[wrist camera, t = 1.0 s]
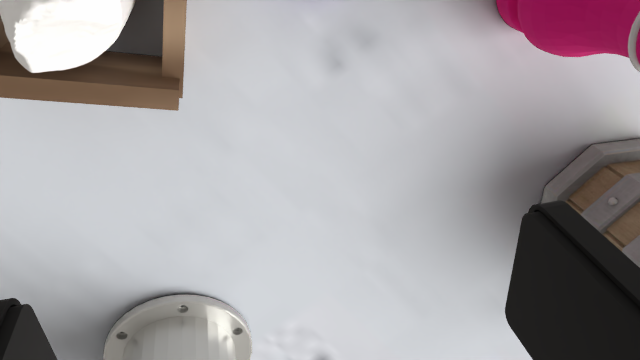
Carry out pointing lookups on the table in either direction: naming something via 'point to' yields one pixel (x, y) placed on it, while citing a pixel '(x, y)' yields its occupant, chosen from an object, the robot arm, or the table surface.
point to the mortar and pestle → (605, 192)
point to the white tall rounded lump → (62, 30)
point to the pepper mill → (577, 26)
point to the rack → (107, 73)
